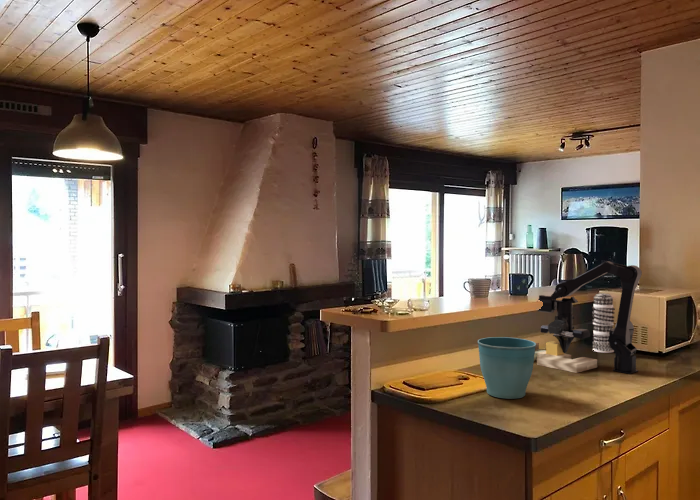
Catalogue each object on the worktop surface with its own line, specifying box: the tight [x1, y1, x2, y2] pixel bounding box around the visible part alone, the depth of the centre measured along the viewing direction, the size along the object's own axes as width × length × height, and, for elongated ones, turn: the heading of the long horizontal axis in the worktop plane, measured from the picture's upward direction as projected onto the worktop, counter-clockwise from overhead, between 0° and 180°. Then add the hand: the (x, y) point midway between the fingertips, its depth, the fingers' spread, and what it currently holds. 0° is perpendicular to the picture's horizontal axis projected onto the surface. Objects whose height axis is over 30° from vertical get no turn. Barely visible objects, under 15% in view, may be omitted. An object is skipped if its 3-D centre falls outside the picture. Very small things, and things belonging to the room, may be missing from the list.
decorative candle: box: [591, 292, 616, 354], centre depth 246 cm, size 9×9×25 cm
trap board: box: [534, 342, 598, 374], centre depth 223 cm, size 27×14×6 cm, turn 36°
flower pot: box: [477, 336, 537, 400], centre depth 180 cm, size 18×18×17 cm
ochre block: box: [545, 340, 565, 356], centre depth 227 cm, size 5×5×4 cm
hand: (564, 352), depth 223 cm, fingers closed
